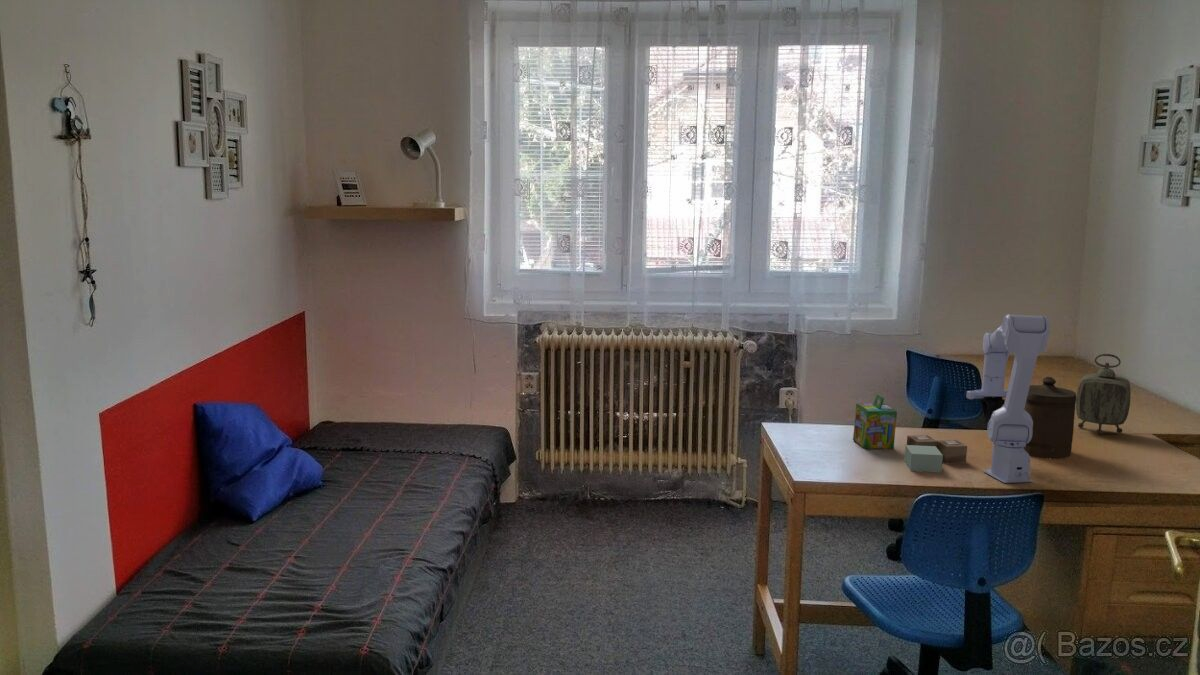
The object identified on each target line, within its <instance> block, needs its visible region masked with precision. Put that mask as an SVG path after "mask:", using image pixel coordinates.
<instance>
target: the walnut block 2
mask: <svg viewBox="0 0 1200 675" xmlns="http://www.w3.org/2000/svg"><path fill="white" fill-rule="evenodd" d="M935 440H936V439H935ZM936 441H937V449H938V450H939V451H940V452H941V454H942V455H943V459H942V464H943V463H944V464H946V463H949V464H966V463H967V453H968V445H967V444H965V443H963V442H961V441H959V440H957V439H940V440H939V439H937V440H936Z"/></svg>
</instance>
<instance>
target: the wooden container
mask: <svg viewBox="0 0 1200 675" xmlns="http://www.w3.org/2000/svg"><path fill="white" fill-rule="evenodd" d="M1056 383H1057V381H1056V379H1055V378H1053V377H1052V376H1046V377H1044V378H1042V384H1040V385H1039V384H1030V387H1029V392H1028V396H1027V400H1026V404H1025V409H1024V410H1025V411H1026V412H1027V413H1029V414H1030V416H1031V418H1032V420H1033V428H1032V430H1033V432H1032V439H1031V441H1030V442H1029V443H1026V447H1024V450H1025V451H1026V452H1027V453H1028V454H1029V456H1030V457H1033V456H1034V458H1038V457H1039V459H1046V458H1048V460H1062V459H1061V458H1063V459H1067V458H1066V457H1068V458H1070V457H1071V455H1072V450H1073V449H1072V448H1073V438H1074V428H1075V413H1076V397H1077V392H1075V391H1074V390H1071V389H1067V388H1063V387H1060V386H1059V387H1058V386H1056V385H1055V384H1056ZM1069 456H1070V457H1069ZM1049 458H1051V459H1049Z"/></svg>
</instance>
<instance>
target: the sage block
mask: <svg viewBox="0 0 1200 675" xmlns="http://www.w3.org/2000/svg"><path fill="white" fill-rule="evenodd" d="M903 458H904V464H905V463H906V464H905V465H906V467H907V466H908V467H907V468H908V469H910V470H909V471H910V472H923V471H935V472H934V473H942V469H943V462H942V459H943V455H942V454H941V452H940V451H939V450H938V449H937V448H936V446H917V445H907V444H905V448H904V457H903Z"/></svg>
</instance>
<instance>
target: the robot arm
mask: <svg viewBox="0 0 1200 675" xmlns="http://www.w3.org/2000/svg"><path fill="white" fill-rule="evenodd" d="M1050 328H1051V327H1050V320H1049V318H1048V317H1047V316H1046V315H1026V314H1025V315H1022V314H1010V313H1008V314H1006V315H1005V316H1004V317H1003V320H1002V323H1001V325H1000V326H999V327H998V328H996V330H995V331H994V332H992V333H990V332H985V333H984V335H983V338H982V351H983V353H984V358H983V367H982V368H983V369H982V370H983V371H982V380H981V389H974V390H966V398H967V399H968V400H974V399H978V401H979V403H980V405H981V407H982V410H983V415H984V421H985V423H987V437H988V439H989V441H990V442H992V443H993V444H992V454H991V464H990V469H983V472H984V473H985V474H986V475H989V476H991V477H992V478H994V479H996V480H998V481H1000V482H1001V483H1004V484H1010V483H1011V484H1012V483H1013V484H1014V483H1032V479H1031V478H1030V469H1031V456H1029V454H1028V453H1027V452H1026V451H1025V450H1024V447H1026V443H1029V442H1030V441H1031V439H1032V432H1033V430H1032V428H1033V420H1032V418H1031V416H1030V414H1029V413H1027V412H1026V411H1025V410H1024V409H1025V404H1026V400H1027V396H1028V392H1029V387H1030V385H1031V383H1032V380H1033V379H1032V378H1033V374H1034V370H1035V365H1036V362H1037V359H1038V356H1039V355H1040V354H1042V353H1044V352H1045V351H1046V347H1048V346H1047V345H1048V341H1049V338H1050V333H1051V330H1050ZM1010 353H1012V354H1013V355H1014V359H1013V364H1012V367H1011V373H1010V377H1009V382H1008V387H1007V389H1005V381H1006V380H1005V379H1006V369H1007V362H1008V361H1009V357H1010ZM1004 398H1005V399H1004Z"/></svg>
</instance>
